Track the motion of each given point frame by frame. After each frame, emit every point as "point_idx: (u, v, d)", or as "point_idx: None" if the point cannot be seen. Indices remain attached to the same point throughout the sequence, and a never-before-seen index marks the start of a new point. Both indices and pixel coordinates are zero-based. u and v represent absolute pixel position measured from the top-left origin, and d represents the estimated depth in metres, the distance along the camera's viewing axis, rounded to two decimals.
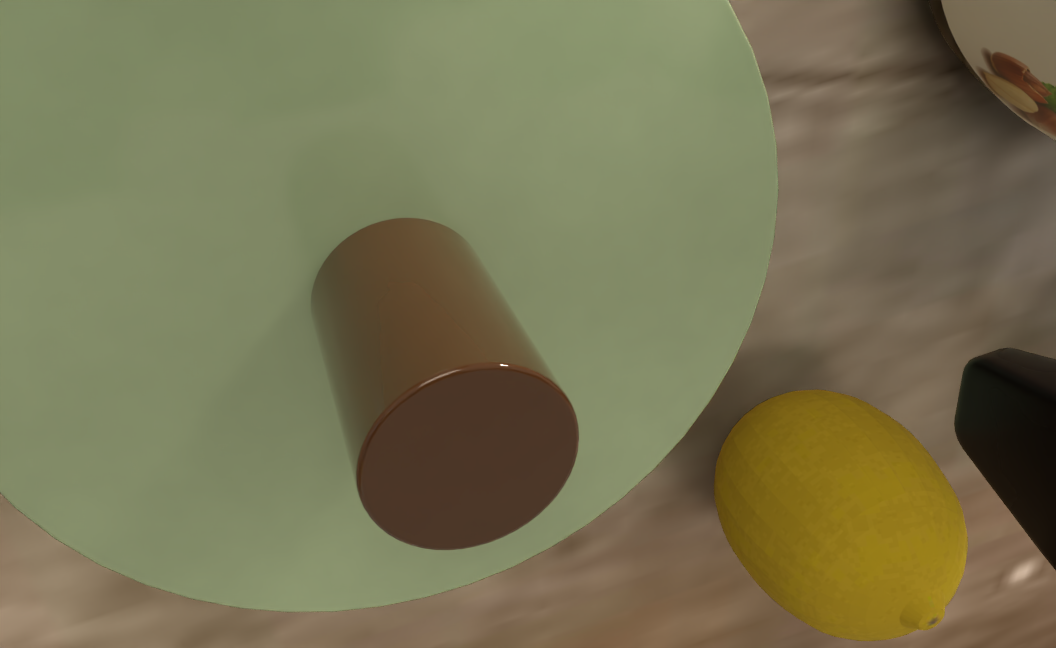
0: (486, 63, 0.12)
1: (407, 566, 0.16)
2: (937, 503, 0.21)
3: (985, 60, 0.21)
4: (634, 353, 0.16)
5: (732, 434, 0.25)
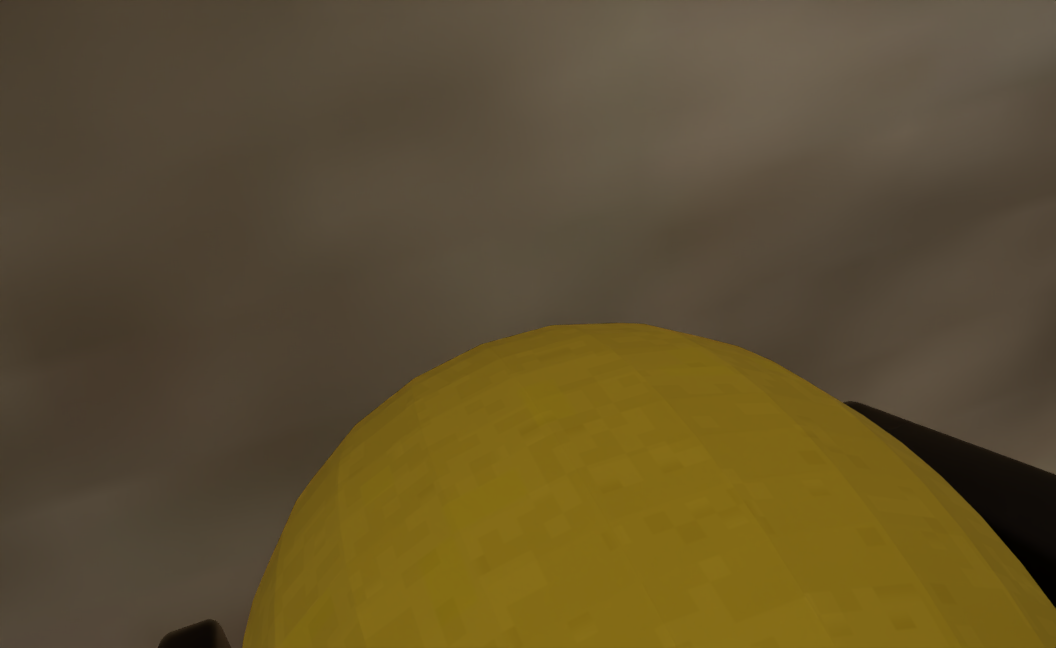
0: None
1: None
2: None
3: None
4: None
5: (312, 480, 0.07)
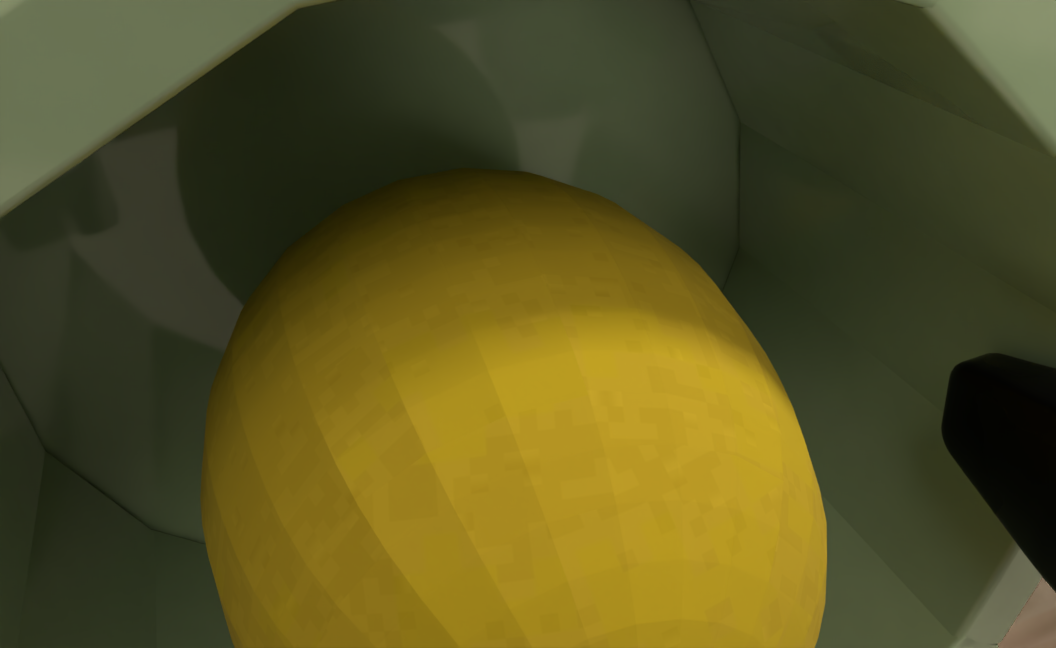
0: None
1: None
2: (705, 437, 0.06)
3: None
4: None
5: None
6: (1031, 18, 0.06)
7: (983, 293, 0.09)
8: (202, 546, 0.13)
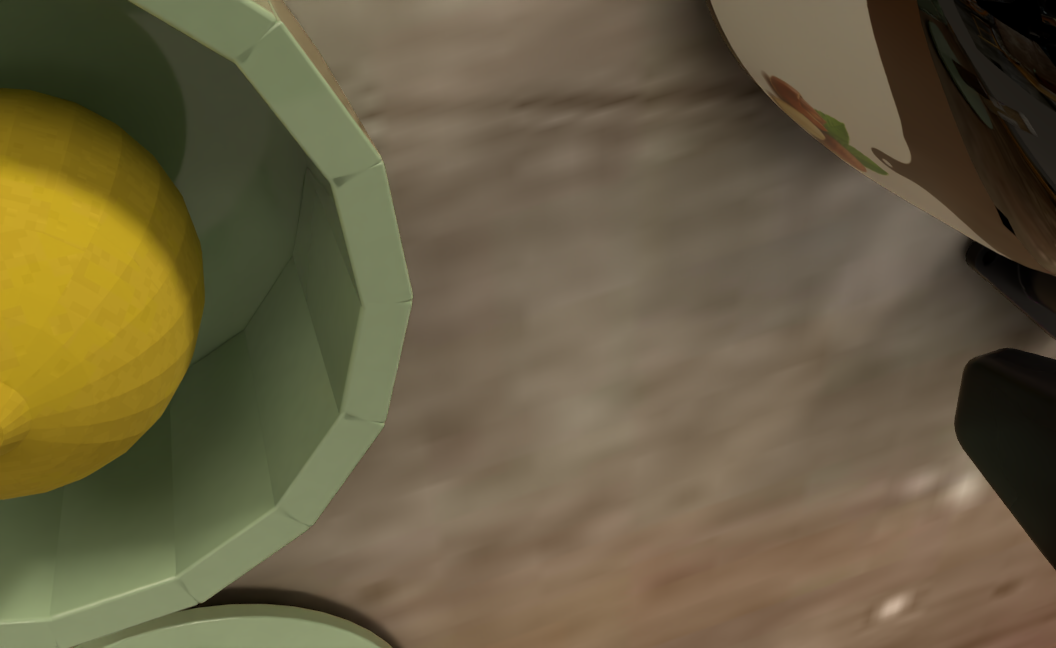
0: None
1: None
2: (18, 222, 0.11)
3: (768, 84, 0.20)
4: None
5: None
6: None
7: None
8: None
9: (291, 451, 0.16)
